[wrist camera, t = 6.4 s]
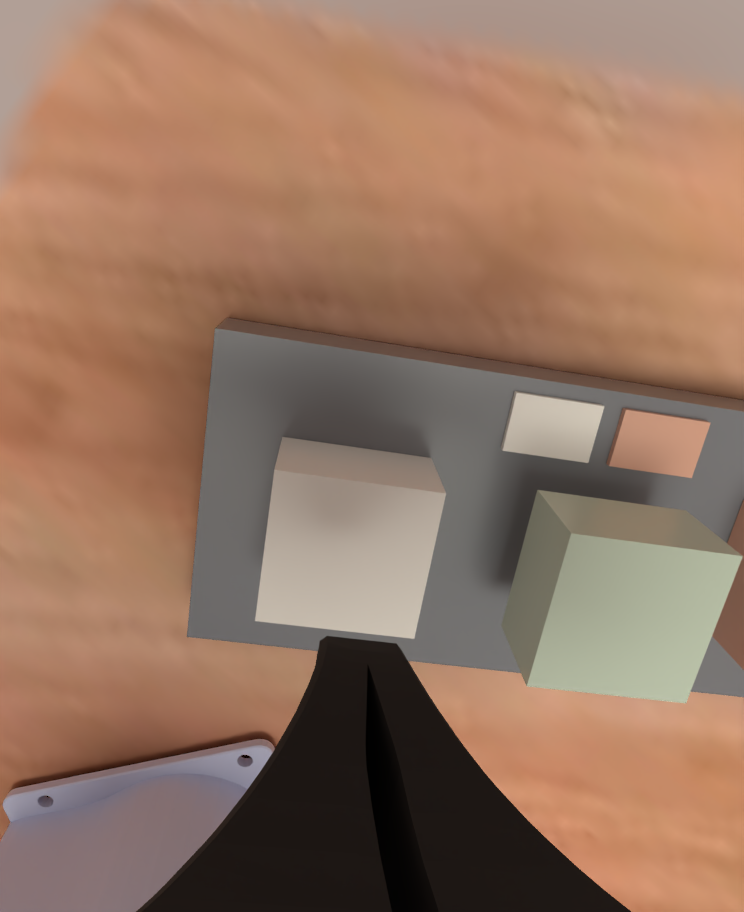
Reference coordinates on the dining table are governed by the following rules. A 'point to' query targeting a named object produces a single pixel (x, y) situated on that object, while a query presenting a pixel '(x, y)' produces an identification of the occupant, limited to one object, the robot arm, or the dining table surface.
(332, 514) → the cream key
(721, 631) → the terracotta key
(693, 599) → the sage key
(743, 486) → the grey key panel base
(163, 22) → the dining table surface
